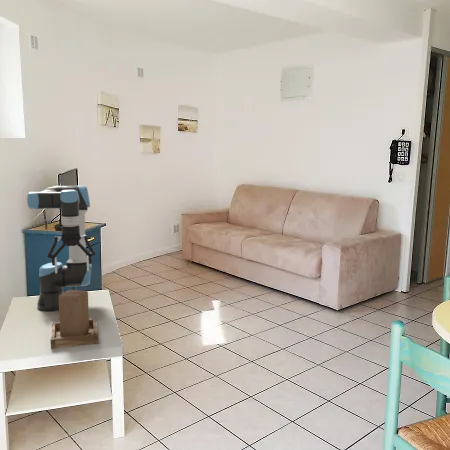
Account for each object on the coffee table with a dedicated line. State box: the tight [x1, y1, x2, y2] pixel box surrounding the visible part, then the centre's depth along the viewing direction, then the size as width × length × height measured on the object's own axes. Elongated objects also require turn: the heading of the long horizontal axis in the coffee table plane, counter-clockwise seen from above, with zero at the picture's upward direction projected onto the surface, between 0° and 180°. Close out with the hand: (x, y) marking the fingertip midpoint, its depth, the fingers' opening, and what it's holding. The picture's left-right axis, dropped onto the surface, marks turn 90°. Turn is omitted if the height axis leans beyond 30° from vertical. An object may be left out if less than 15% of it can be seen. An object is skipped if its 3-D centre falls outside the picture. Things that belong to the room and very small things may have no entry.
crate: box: [50, 318, 100, 349], centre depth 218 cm, size 20×20×4 cm
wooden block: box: [58, 289, 90, 337], centre depth 216 cm, size 10×10×20 cm
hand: (72, 271), depth 214 cm, fingers open, 13 cm apart
